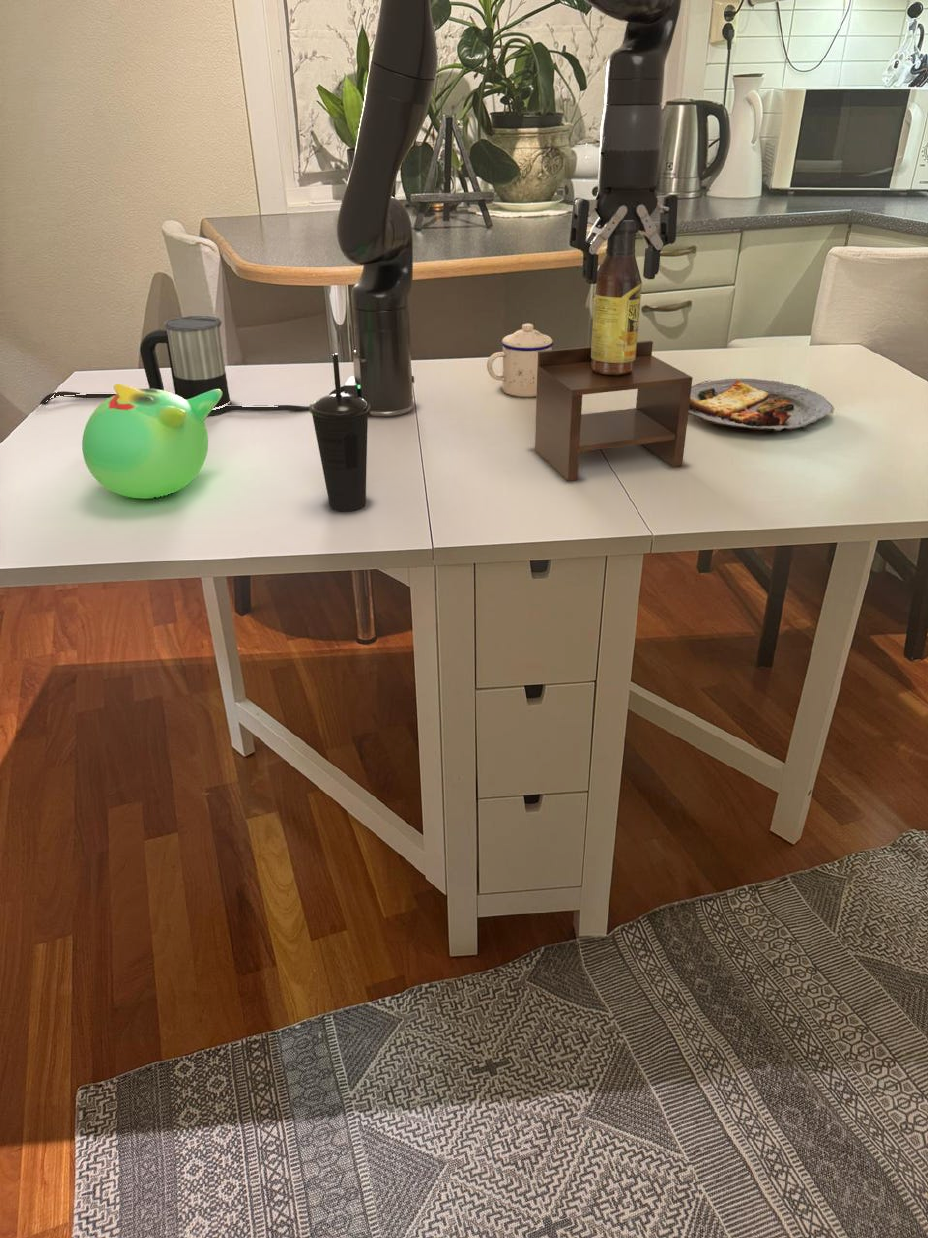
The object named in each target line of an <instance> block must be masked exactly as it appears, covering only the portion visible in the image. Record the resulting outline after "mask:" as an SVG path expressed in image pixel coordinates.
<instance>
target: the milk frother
mask: <svg viewBox="0 0 928 1238" xmlns="http://www.w3.org/2000/svg"><path fill="white" fill-rule="evenodd" d="M222 323H223V322H222V320H221V319H220V318H219V317H215V316H208V315H206V316H205V315H204V316H202V315H191V316H182V317H175V318H171V319H168V320H166V321H165V322H163V326H164V327H165V328H161V329H160V328H159V329H155V330H152V331H149V332H148V333H147V334H146V335H145V336H144V338H143V339H142V340H141V343H140V348H139V350H140V357H141V361H142V365H143V369H144V372H145V378H146V380H147V384H148V388H153V389H158V390H163V391H165V386H164V382H163V378H162V374H161V368H160V365H159V359H158V356H157V350H156V346H157V345H158V344H166V347H167V354H168V359H169V360H168V361H169V365H170V366H169V367H170V371H171V378H172V384H173V390H174V394H175V395H178V396H180V397H182V398H183V399H185V400H187V399H191V398H193V397H196V396H198V395H200V394H203V393H205V392H208V391H211V390H214V389H220V390H221V391H222V397H221V398H220V400H219V401H218V403H217V404H216V405H215V407H219V406H222V405H224V404H226V403H228V402H229V401H231V396H230V391H229V386H228V385H229V384H228V379H227V371H226V364H225V363H226V362H225V356H224V349H223V343H222V342H223V341H222V340H223V339H222V333H221V326H222ZM228 405H233V403H232V401H231V402H230V404H228ZM215 407H214V408H215ZM228 411H229V410H228V409H227V408H226V406H225V407H223V408H220V409H216V410H211V412H210V413H209V414H208V415H207V417H209V416H215V415H219V414H223V413H226V412H228Z"/></svg>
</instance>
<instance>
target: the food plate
mask: <svg viewBox="0 0 928 1238" xmlns="http://www.w3.org/2000/svg"><path fill="white" fill-rule="evenodd" d="M834 412H835V407H834V405H833V404H832V403H831V402H830V401H829V400H828V399H826V397H824V395H822V394H820V393H818V392H816V391H813V390H811V389H809V388H808V387H807V388H805V387H804V386H803V387H802V386H801V385H796V384H790V383H785V382H783V381H777V380H767V379H757V378H724V379H717V380H710V379H709V380H704V381H702V382H699V383H696V384H694V385H692V387H691V396H690V404H689V413H688V415H691V416H693V417H696V418H698V419H700V420H701V419H702V420H704V421H707V422H710V423H712V424H713V425H719V426H725V427H730V428H740V429H741V428H742V429H750V430H752V431H753V430H755V431H761V430H762V431H763V430H764V431H770V432H773V431H774V432H780V431H782V430H784V429H786V430H789V431H792V430H795V429H799V428H801V427H803V428H805V427H806V426H808V425H810V424H812V423H816V422H817V421H818V420H820V419H824V417H825V416H827V415H829V414H834Z"/></svg>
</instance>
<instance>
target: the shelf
mask: <svg viewBox="0 0 928 1238" xmlns="http://www.w3.org/2000/svg"><path fill="white" fill-rule="evenodd" d="M653 345H654V341H653V340H643V341H637V347H636V359H635V362H634V368H633V370H632V371H631V372H630V373H627V374H621V375H603V374H599V373H596V372H595V371H593V370H592V368H591V363H592V358H591V348H592V345H590V346H588V345H587V346H578V347H569V348H558V349H557V348H556V349H552V350H546V351H538V365H537V370H538V371H537V396H535V397H536V400H535V437H534V451H535V452H536V453H537V454H538V455H539V456H540V457H541V458H543V459H544V461H546V462H547V463H548V464H549V465H550V466H551V467H552V468H553V469H554V470H555V471H556V472H557V473H558V474H560V475H561V476H562V477H563V478H564V479H565V481H567V482H572V481H578V479H579V464H580V463H579V461H580V452H587V451H594V450H602V449H604V450H605V449H611V448H619V447H620V448H621V447H627V446H635V445H642V446H644V447H645V448H646V449H647V450H649V451H651V452H652V453H653V454H654V455H656V456H657V457H659V458H660V459H662V460H663V462H666V463H667V464H668V465H669V466H671V467H672V468H676V467H682V466H683V462H684V454H685V446H686V439H687V438H686V437H687V430H688V429H687V428H688V422H689V421H688V419H689V414H688V413H689V404H690V396H691V387H692V386H693V380H694V379H693V378H694V377H693V376H691V375H689V374H687V373H686V372H683V371H682V370H680V369H678V368H676V367H674V366H672V365H671V364H669V363H667V362H665V361H663V360H661V359H659V358H658V357H655V356H654V355H653ZM631 390H637V391H636V403H635V408H626V409H616V410H609V411H599V412H591V413H583V414H582V408H583V403H582V402H583V396H584V395H595V394H602V393H610V392H611V393H612V392H621V391H631Z"/></svg>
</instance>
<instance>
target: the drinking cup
mask: <svg viewBox="0 0 928 1238" xmlns="http://www.w3.org/2000/svg"><path fill="white" fill-rule="evenodd" d="M339 361H340V360H339V354H338V353H333V354H332V365H333V377H334V388H335V389H334V390H336V394H331V395H329V394H327V395H325V396H323V397H320V398H319V399H317V400H314V401H313V402H311V403H310V404H309V406H308V407H309V413H310V414H311V415H312V420H313V427H314V431H315V437H316V442H317V447H318V452H319V457H320V464H321V467H322V472H323V477H324V484H325V489H326V493H327V500H328V504H329V507H330V509H332V510H333V511H337V512H347V513H348V512H355V511H358V510H360V509H362V508H364V507H365V506H366V503H367V468H368V465H367V464H368V463H367V461H368V426H369V425H368V421H369V420H368V419H369V416H368V410H369V409H370V403H369V402H368V401H367V400H366V399H363V398H360V397H357V396H354V395H351V394H345V392H341V387H342V385H341V373H340V363H339Z"/></svg>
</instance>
